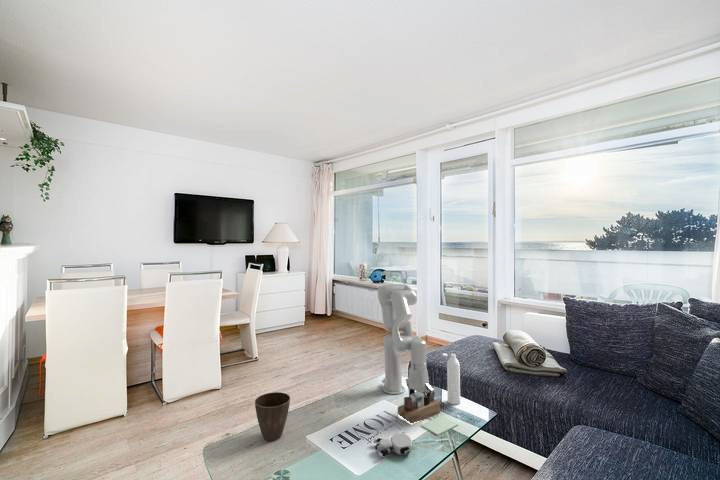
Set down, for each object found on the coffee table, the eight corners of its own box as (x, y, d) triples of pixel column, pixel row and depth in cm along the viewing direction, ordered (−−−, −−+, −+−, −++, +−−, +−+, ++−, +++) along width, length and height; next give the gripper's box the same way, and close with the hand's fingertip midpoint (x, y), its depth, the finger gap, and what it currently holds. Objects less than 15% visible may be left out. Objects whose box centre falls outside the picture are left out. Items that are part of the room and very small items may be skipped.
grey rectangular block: (410, 404, 165) (410, 394, 165) (420, 400, 169) (420, 390, 169) (417, 408, 161) (417, 398, 161) (427, 404, 165) (427, 394, 165)
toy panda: (379, 464, 129) (416, 457, 131) (378, 452, 129) (415, 445, 131) (372, 446, 141) (407, 440, 143) (371, 435, 141) (406, 429, 143)
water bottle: (458, 399, 182) (458, 352, 182) (461, 404, 175) (460, 356, 176) (442, 399, 182) (441, 352, 183) (444, 404, 176) (443, 355, 176)
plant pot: (271, 424, 157) (271, 389, 158) (297, 432, 150) (297, 395, 151) (247, 440, 144) (247, 402, 144) (274, 450, 137) (274, 410, 137)
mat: (420, 426, 155) (420, 424, 155) (440, 416, 163) (440, 415, 163) (437, 435, 147) (437, 434, 147) (458, 425, 155) (458, 424, 155)
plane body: (397, 417, 162) (397, 392, 163) (426, 406, 174) (426, 382, 175) (411, 425, 155) (410, 398, 156) (440, 412, 167) (439, 388, 167)
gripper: (400, 362, 170) (401, 397, 169) (426, 372, 156) (427, 410, 156) (411, 359, 175) (411, 393, 174) (437, 369, 161) (438, 405, 160)
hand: (419, 401), depth 165 cm, fingers open, 9 cm apart
